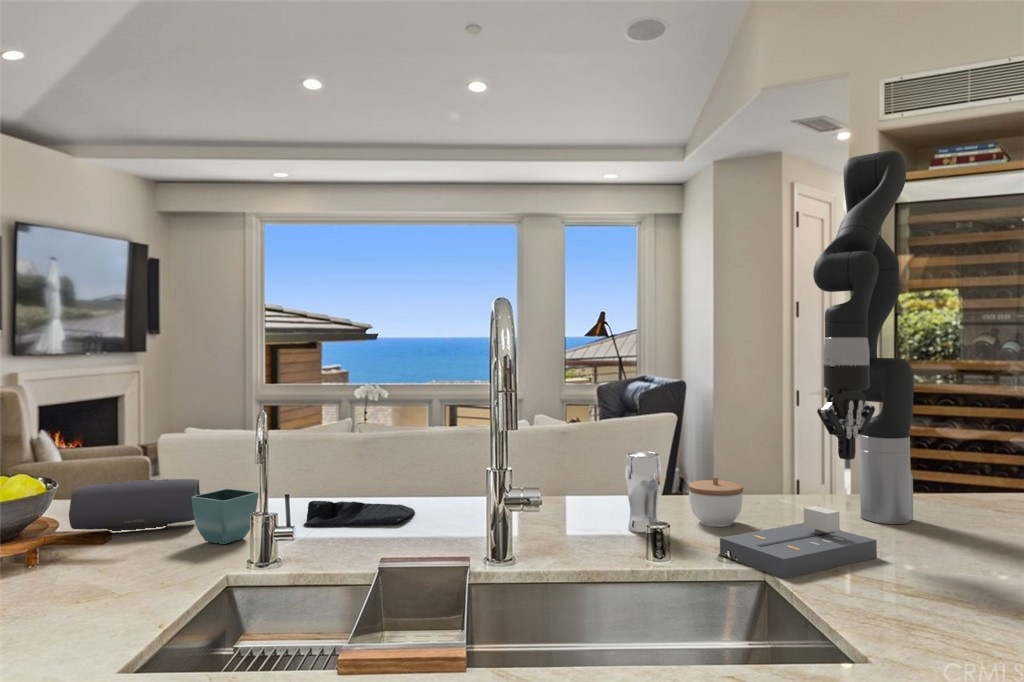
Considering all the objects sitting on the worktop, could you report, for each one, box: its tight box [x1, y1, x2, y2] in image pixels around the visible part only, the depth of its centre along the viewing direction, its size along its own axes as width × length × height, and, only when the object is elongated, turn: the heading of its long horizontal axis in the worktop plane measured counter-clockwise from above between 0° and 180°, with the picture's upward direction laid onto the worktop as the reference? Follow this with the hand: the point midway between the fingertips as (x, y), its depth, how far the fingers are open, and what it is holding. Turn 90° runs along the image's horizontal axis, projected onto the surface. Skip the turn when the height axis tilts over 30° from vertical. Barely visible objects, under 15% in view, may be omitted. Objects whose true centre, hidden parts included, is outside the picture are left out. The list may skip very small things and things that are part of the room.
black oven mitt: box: [303, 500, 416, 528], centre depth 153 cm, size 15×22×5 cm
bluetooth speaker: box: [68, 478, 201, 531], centre depth 146 cm, size 23×9×10 cm, turn 108°
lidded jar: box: [688, 476, 744, 528], centre depth 146 cm, size 11×11×9 cm
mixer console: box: [719, 522, 878, 579], centre depth 123 cm, size 22×14×3 cm, turn 117°
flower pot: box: [191, 488, 259, 545], centre depth 137 cm, size 9×9×9 cm
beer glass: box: [624, 451, 662, 535], centre depth 141 cm, size 7×7×15 cm
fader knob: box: [803, 505, 840, 534], centre depth 125 cm, size 3×5×4 cm, turn 27°
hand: (846, 458), depth 129 cm, fingers closed
